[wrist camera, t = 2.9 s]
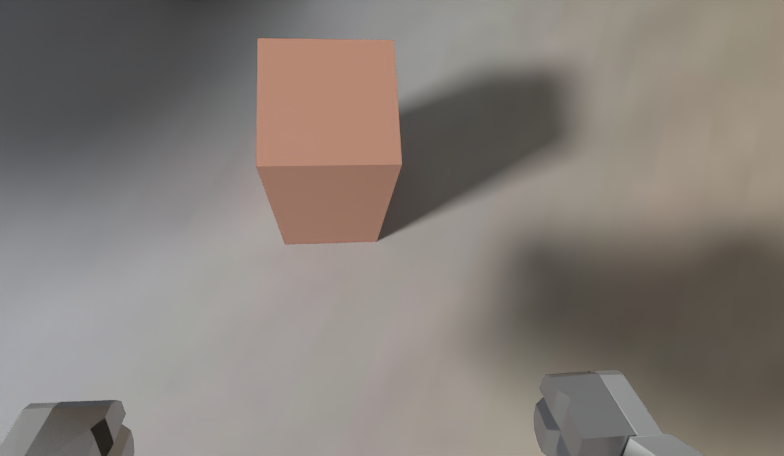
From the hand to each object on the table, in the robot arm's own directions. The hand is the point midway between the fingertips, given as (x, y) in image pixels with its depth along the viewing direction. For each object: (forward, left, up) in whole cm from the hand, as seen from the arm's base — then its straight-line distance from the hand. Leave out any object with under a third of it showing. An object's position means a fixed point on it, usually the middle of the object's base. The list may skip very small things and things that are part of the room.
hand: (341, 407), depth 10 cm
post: (0, +8, -12) cm, 14 cm away
